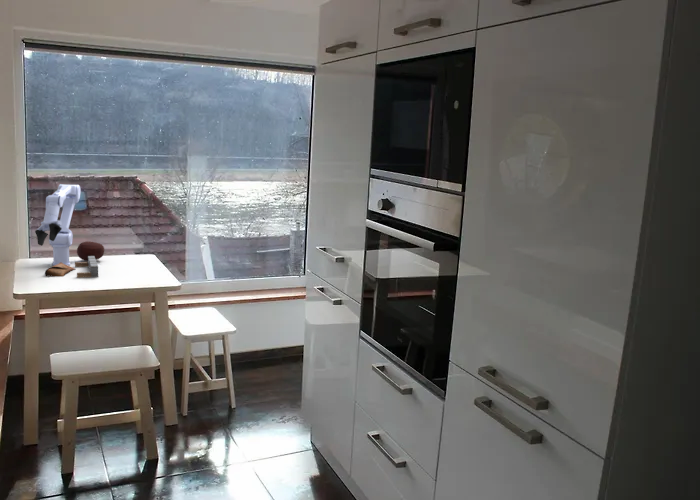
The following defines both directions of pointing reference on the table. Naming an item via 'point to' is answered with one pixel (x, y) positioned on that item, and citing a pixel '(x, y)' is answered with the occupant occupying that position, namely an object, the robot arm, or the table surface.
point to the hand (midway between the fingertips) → (45, 242)
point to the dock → (92, 268)
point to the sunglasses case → (58, 270)
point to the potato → (90, 250)
